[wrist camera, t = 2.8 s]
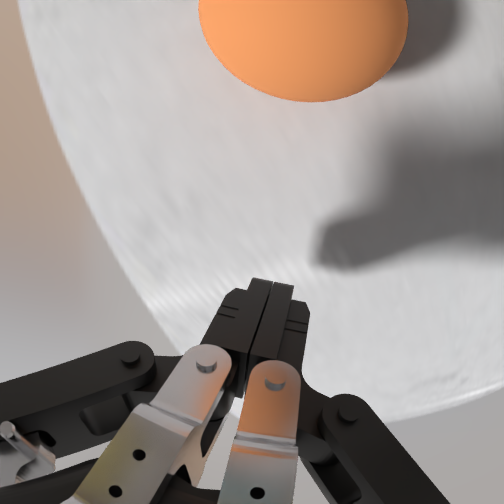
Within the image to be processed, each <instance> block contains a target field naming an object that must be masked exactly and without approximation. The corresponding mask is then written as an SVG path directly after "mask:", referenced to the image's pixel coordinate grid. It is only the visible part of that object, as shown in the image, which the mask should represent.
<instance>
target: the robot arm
mask: <svg viewBox="0 0 504 504" xmlns="http://www.w3.org/2000/svg"><path fill="white" fill-rule="evenodd" d="M293 289H294V286H293V285H288V284H283V283H278V282H274V284H273V281H268V280H263V279H258V278H252V280H251V282H250V285H249V287H248V289H247V290H243V289H239V288H235V289H234V290H232V291H231V292H229V293H228V294H227V295H226V296H225V298H224V300H223V301H222V303H221V306H220V307H219V309H218V311H217V313H216V315H215V316H214V318H213V320H212V322H211V324H210V326H209V328H208V330H207V332H206V334H205V335H204V337H203V339H202V341H201V343H200V345H197V346H194V347H192V348H190V349H189V350H188V351H186V353H185V354H184V355H182V356H173V357H172V356H154V353H153V351H152V349H151V348H150V347H149V346H148V345H146V344H144V343H142V342H139V341H127V342H124V343H120V344H117V345H115V346H112V347H109V348H107V349H103V350H101V351H98V352H95V353H92V354H89V355H86V356H83V357H80V358H77V359H74V360H71V361H68V362H66V363H63V364H60V365H56V366H53V367H50V368H47V369H44V370H41V371H38V372H35V373H32V374H28V375H26V376H22V377H19V378H16V379H12V380H9V381H6V382H3V383H0V504H292V503H293V502H292V501H293V495H294V487H295V479H296V471H297V462H298V456H300V458H301V461H302V463H303V464H304V466H305V467H306V469H307V471H308V472H309V474H310V475H311V477H312V478H313V479H314V481H315V482H316V484H317V485H318V487H319V489H320V490H321V492H322V493H323V495H324V496H325V498H326V499H327V500H328V502H329V503H330V504H450V503H449V502H448V500H447V499H446V498H445V497H444V496H443V494H442V493H441V492H440V491H439V490H438V488H437V487H436V486H435V485H434V484H433V482H432V481H431V480H430V479H429V478H428V476H427V475H426V474H425V473H424V472H423V471H422V469H421V468H420V467H419V466H418V465H417V463H416V462H415V461H414V460H413V458H411V456H410V455H409V454H408V452H407V451H406V450H405V449H404V448H403V446H402V445H401V444H400V443H399V442H398V440H397V439H396V438H395V437H394V435H393V434H392V433H391V432H390V431H389V429H388V428H387V427H386V426H385V425H384V423H383V422H382V421H381V420H380V419H379V417H378V416H377V415H376V414H375V412H374V411H373V410H372V409H371V408H370V406H369V405H368V404H367V403H366V402H365V401H364V400H363V399H361V398H359V397H358V396H355V395H351V394H339V395H336V396H333V397H332V398H329V397H327V396H325V395H323V394H321V393H319V392H317V391H315V390H314V389H312V388H311V387H310V386H309V385H308V384H307V383H306V382H305V380H304V378H303V375H302V362H303V356H304V350H305V344H306V337H307V331H308V324H309V317H310V311H309V309H308V307H307V304H306V302H301V301H296V300H291V299H292V294H293ZM244 392H245V397H244V403H243V408H242V412H241V416H240V420H239V425H238V429H237V433H236V436H235V438H234V440H233V444H232V448H231V452H230V456H229V460H228V464H227V468H226V472H225V476H224V479H223V483H222V487H221V490H210V489H200V488H196V487H197V485H198V483H199V481H200V479H201V476H202V474H203V471H204V467H205V463H206V461H207V458H208V456H209V454H210V452H211V450H212V448H213V446H214V444H215V442H216V440H217V438H218V436H219V434H220V432H221V430H222V427H223V426H224V423H225V421H226V419H227V417H228V414H229V410H230V408H231V406H232V403H233V400H234V397H238V398H243V395H244ZM110 440H112V441H111V442H110V444H109V445H108V446H107V448H106V449H105V451H104V452H103V453H102V455H101V456H100V458H96V459H92V460H88V461H85V462H82V463H80V464H77V465H74V466H71V467H69V468H66V469H63V470H60V471H57V472H54V471H55V459H57V458H60V457H64V456H67V455H70V454H73V453H76V452H79V451H82V450H85V449H88V448H91V447H94V446H97V445H99V444H102V443H105V442H108V441H110ZM144 458H145V459H144ZM53 472H54V473H53ZM47 474H48V475H47Z"/></svg>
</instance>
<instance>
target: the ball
mask: <svg viewBox="0 0 504 504" xmlns="http://www.w3.org/2000/svg"><path fill="white" fill-rule="evenodd" d="M198 10H199V19H200V23H201V27H202V31H203V34H204V36H205V39H206V41H207V43H208V45H209V47H210V48H211V50H212V52H213V53H214V55H215V56H216V57H217V58H218V60H219V61H220V62H221V63H222V64H223V66H224V67H225V68H226V69H228V70H229V71H230V72H231V73H232V74H233V75H234V76H236V77H237V78H238V79H240V80H241V81H242V82H244V83H246V84H247V85H249V86H251V87H253V88H255V89H257V90H259V91H262V92H264V93H266V94H269V95H272V96H275V97H278V98H281V99H286V100H292V101H300V102H324V101H331V100H337V99H341V98H344V97H348V96H351V95H353V94H356V93H358V92H361V91H362V90H364V89H366V88H368V87H370V86H371V85H373V84H374V83H375V82H377V81H378V80H379V79H381V78H382V77H383V76H384V75H385V74H386V73H387V72H388V71H389V70H390V69H391V67H392V66H393V64H394V63H395V62H396V60H397V59H398V57H399V55H400V53H401V51H402V49H403V46H404V43H405V40H406V36H407V30H408V9H407V4H406V0H199V8H198Z"/></svg>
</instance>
